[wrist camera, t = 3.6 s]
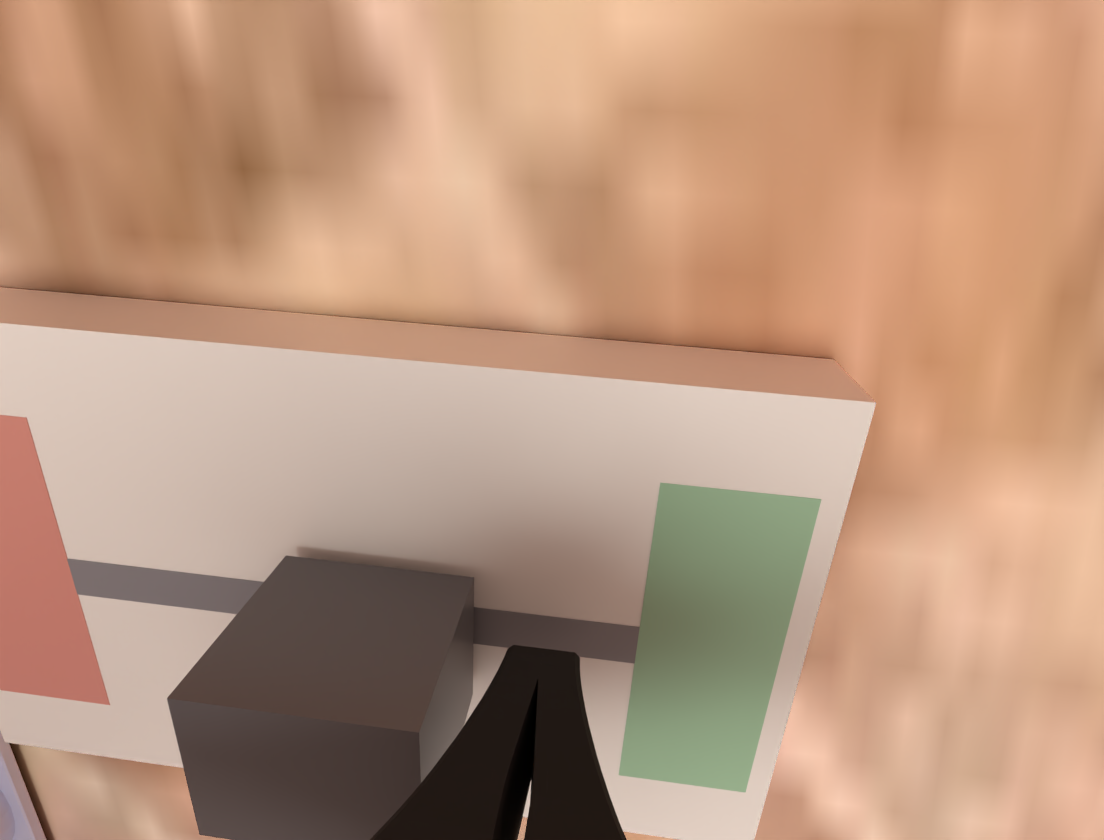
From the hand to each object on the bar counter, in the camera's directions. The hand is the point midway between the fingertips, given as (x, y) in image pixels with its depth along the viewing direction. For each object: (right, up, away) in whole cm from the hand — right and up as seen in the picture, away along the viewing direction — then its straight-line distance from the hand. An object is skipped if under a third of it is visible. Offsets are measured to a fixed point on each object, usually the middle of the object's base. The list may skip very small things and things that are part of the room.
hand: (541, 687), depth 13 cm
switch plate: (-4, +2, +4) cm, 6 cm away
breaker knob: (-3, +1, +1) cm, 4 cm away
